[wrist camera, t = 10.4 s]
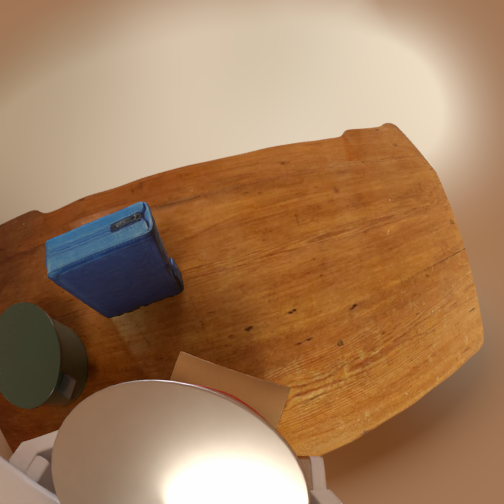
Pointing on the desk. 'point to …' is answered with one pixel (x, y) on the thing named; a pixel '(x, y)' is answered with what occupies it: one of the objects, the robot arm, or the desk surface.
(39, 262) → the desk surface
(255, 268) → the desk surface
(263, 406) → the block
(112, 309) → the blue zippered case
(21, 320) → the pot
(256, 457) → the can
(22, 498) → the robot arm
